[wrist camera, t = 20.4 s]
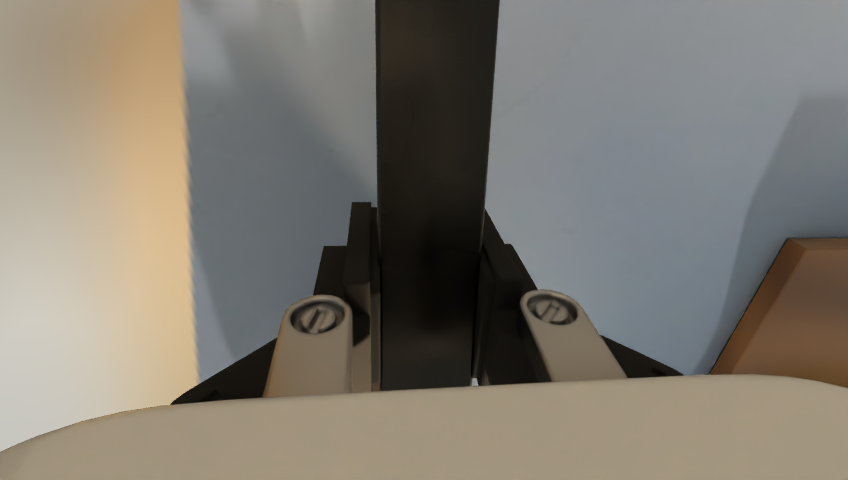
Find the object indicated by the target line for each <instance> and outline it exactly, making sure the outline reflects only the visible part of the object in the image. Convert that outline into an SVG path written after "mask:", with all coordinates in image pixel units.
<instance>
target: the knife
mask: <svg viewBox="0 0 848 480" xmlns="http://www.w3.org/2000/svg"><path fill="white" fill-rule="evenodd" d="M499 4H500V0H375V35H376V129H377V223H378V265H379V266H380V360H381V383H379V391H393V390H411V389H429V388H448V387H467V386H472V368H473V354H474V341H475V327H476V313H477V300H478V286H479V272H480V263H481V252H482V238H483V225H484V211H485V197H486V183H487V169H488V155H489V142H490V128H491V114H492V100H493V86H494V73H495V59H496V45H497V31H498V17H499Z"/></svg>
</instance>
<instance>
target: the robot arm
mask: <svg viewBox="0 0 848 480" xmlns="http://www.w3.org/2000/svg"><path fill="white" fill-rule="evenodd" d="M472 378H477V381H478V385H479V386H467V387H448V388H429V389H411V390H393V391H375V392H372V383H381V360H380V266H379V265H378V223H377V207H371V202H352V207H351V216H350V225H349V233H348V242H347V246H324V248H323V252H322V256H321V261H320V265H319V270H318V275H317V279H316V284H315V289H314V293H313V296H309V297H306V298H303V299H300V300H299V301H297V302H295V303H294V304H292V305H291V306H290V307H289V308H288V309H287V310H286V312H285V314H284V316H283V318H282V322H281V326H280V330H279V334H278V337H277V338H276V339H274V340H272V341H271V342H269V343H267V344H266V345H264V346H262V347H261V348H259V349H257V350H256V351H254V352H252V353H251V354H249V355H247V356H246V357H244V358H242V359H240V360H239V361H237V362H235V363H234V364H232V365H230V366H229V367H227V368H225V369H224V370H222V371H220V372H219V373H217V374H215V375H214V376H212V377H210V378H209V379H207V380H205V381H204V382H202V383H200V384H199V385H197V386H195V387H194V388H192V389H190V390H189V391H187V392H185V393H184V394H183V395H181V396H180V397H178V398H177V399H176V400H174V401H173V402H172V403H171V404H170V405H166V406H157V407H150V408H144V409H137V410H131V411H124V412H119V413H115V414H111V415H107V416H102V417H98V418H94V419H90V420H85V421H81V422H79V423H75V424H72V425H69V426H66V427H64V428H60V429H58V430H54V431H51V432H48V433H45V434H42V435H39V436H36V437H34V438H32V439H29V440H27V441H24V442H22V443H19V444H17V445H15V446H12V447H10V448H8V449H6V450H4V451H2V452H0V480H848V388H845V387H841V386H836V385H832V384H828V383H824V382H820V381H815V380H808V379H801V378H794V377H787V376H773V375H757V374H738V375H690V376H685V375H683V374H682V373H680V372H678V371H676V370H675V369H673V368H671V367H669V366H667V365H664V364H662V363H660V362H658V361H656V360H654V359H651V358H649V357H647V356H645V355H643V354H641V353H639V352H636V351H634V350H632V349H630V348H628V347H626V346H623V345H621V344H619V343H617V342H615V341H613V340H611V339H608V338H606V337H604V336H602V335H600V334H599V333H598V331H597V329H596V328H595V326H594V325H593V323H592V322H591V320H590V319H589V317H588V316H587V314H586V313H585V311H584V309H583V308H582V307H581V306H580V305H579V303H578V302H577V301H575V300H574V299H572V298H571V297H569V296H567V295H565V294H563V293H560V292H557V291H553V290H545V289H539V290H538V289H537V287H536V285H535V284H534V282H533V280H532V279H531V277H530V275H529V273H528V272H527V270H526V268H525V266H524V265H523V263H522V261H521V259H520V258H519V256H518V254H517V253H516V251H515V249H514V247H513V246H512V245H511V244H504V242H503V240H502V238H501V237H500V235H499V233H498V231H497V229H496V227H495V226H494V224H493V222H492V220H491V218H490V216H489V215H488V213H487V211H486V209H485V211H484V225H483V238H482V252H481V263H480V272H479V286H478V300H477V313H476V327H475V341H474V354H473V368H472Z"/></svg>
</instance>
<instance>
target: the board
mask: <svg viewBox="0 0 848 480" xmlns="http://www.w3.org/2000/svg"><path fill="white" fill-rule="evenodd" d="M738 374H757V375H773V376H787V377H794V378H801V379H808V380H815V381H820V382H824V383H828V384H832V385H836V386H841V387H845V388H848V238H802V239H787V241H786V243H785V244H784V246H783V248H782V249H781V251H780V253H779V255H778V256H777V258H776V260H775V262H774V263H773V265H772V267H771V269H770V270H769V272H768V274H767V276H766V277H765V279H764V281H763V282H762V284H761V286H760V288H759V289H758V291H757V293H756V295H755V296H754V298H753V300H752V302H751V303H750V305H749V307H748V308H747V310H746V312H745V314H744V315H743V317H742V319H741V321H740V322H739V324H738V326H737V328H736V329H735V331H734V333H733V334H732V336H731V338H730V340H729V341H728V343H727V345H726V347H725V348H724V350H723V352H722V354H721V355H720V357H719V359H718V361H717V362H716V364H715V366H714V367H713V369H712V371H711V373H710V374H709V375H738Z"/></svg>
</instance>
